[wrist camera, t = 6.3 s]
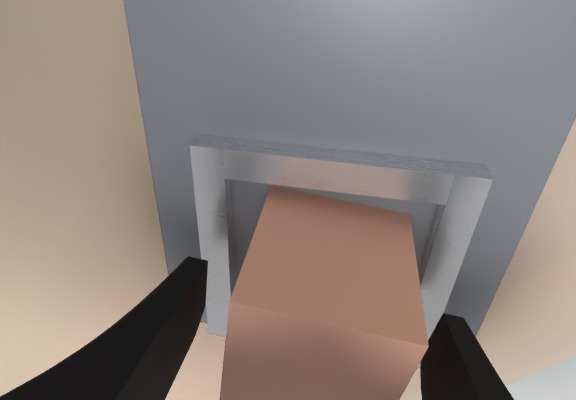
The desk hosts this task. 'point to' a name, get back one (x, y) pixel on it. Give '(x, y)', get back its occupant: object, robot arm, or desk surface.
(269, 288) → the block
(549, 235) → the desk surface
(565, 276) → the desk surface
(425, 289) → the locating frame
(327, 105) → the board
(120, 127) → the desk surface
